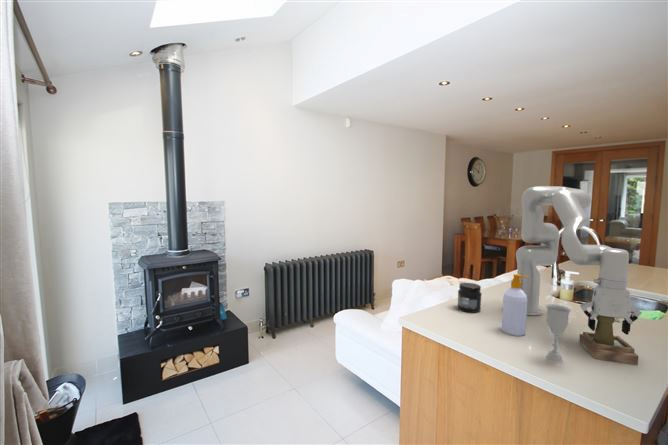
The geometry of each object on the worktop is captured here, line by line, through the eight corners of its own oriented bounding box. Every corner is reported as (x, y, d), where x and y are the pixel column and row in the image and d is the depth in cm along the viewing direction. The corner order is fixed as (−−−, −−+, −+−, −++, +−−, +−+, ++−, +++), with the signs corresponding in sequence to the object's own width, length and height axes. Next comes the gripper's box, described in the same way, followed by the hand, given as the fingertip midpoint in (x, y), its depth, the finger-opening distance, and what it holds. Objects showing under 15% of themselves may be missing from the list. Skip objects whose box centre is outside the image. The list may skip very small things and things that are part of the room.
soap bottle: (518, 338, 129) (522, 278, 126) (496, 329, 137) (499, 273, 135) (532, 334, 133) (535, 276, 130) (510, 325, 141) (513, 271, 139)
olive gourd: (618, 347, 115) (621, 316, 114) (598, 345, 116) (601, 315, 115) (607, 339, 121) (609, 310, 120) (588, 338, 122) (591, 309, 121)
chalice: (537, 354, 116) (540, 304, 115) (555, 353, 117) (559, 303, 115) (553, 364, 109) (556, 311, 107) (572, 364, 110) (576, 311, 108)
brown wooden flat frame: (594, 358, 113) (595, 345, 113) (579, 341, 127) (580, 330, 126) (637, 364, 110) (638, 351, 109) (617, 346, 123) (618, 334, 122)
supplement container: (476, 306, 165) (477, 282, 164) (483, 313, 155) (485, 288, 154) (454, 305, 166) (455, 281, 165) (460, 312, 156) (461, 288, 155)
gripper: (586, 284, 115) (583, 331, 117) (649, 289, 109) (644, 339, 111) (578, 278, 122) (575, 323, 124) (637, 283, 117) (632, 330, 118)
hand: (608, 331), depth 117 cm, fingers open, 9 cm apart
